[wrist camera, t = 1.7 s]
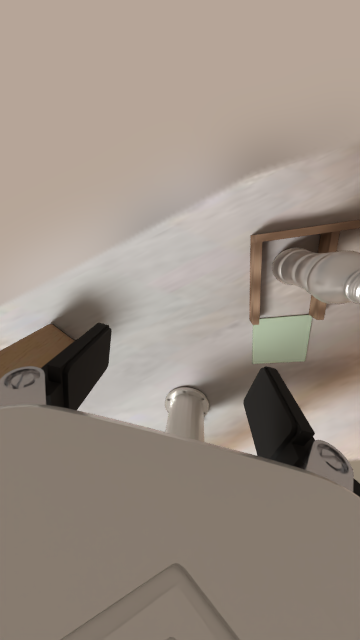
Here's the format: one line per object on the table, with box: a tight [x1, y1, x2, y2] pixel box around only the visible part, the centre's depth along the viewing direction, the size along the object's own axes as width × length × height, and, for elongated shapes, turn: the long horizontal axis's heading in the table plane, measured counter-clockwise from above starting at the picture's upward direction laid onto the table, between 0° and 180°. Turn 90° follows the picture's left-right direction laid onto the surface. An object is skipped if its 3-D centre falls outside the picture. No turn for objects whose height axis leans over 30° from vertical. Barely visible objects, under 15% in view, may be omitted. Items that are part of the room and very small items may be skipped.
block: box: [0, 324, 74, 379], centre depth 39 cm, size 10×10×20 cm
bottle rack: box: [249, 220, 360, 325], centre depth 33 cm, size 17×26×4 cm
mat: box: [252, 315, 312, 364], centre depth 41 cm, size 12×12×1 cm
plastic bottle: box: [272, 248, 360, 304], centre depth 26 cm, size 6×7×20 cm
